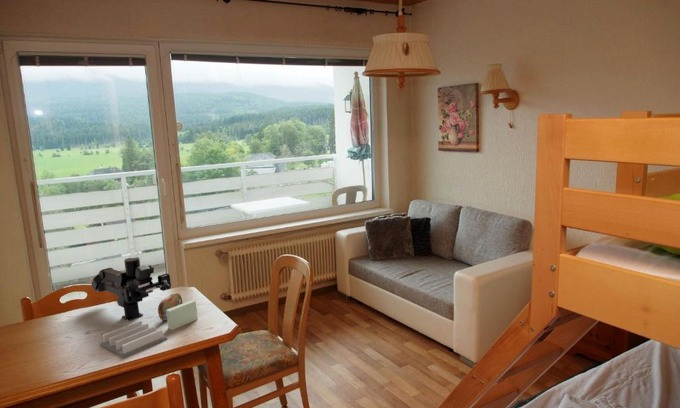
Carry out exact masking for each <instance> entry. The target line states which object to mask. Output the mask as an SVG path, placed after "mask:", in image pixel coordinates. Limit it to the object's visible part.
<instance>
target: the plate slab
mask: <svg viewBox="0 0 680 408" xmlns="http://www.w3.org/2000/svg"><path fill="white" fill-rule="evenodd" d="M166 315H167V320H166V321H167V328H168V329H169V330H171V331H174V330H176V329H178V328H180V327H181V328H182V327H183V326H186V325H188V324H189V323H192V322H194V321H197V320H199V319H198V310H197V302H196V300H192V299H191V300H189V301H186V302H182V304H180V305H178V306H175V307H173V308H170V309H167V310H166Z"/></svg>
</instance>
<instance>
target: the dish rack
mask: <svg viewBox="0 0 680 408" xmlns="http://www.w3.org/2000/svg"><path fill="white" fill-rule="evenodd" d="M167 340H168V337H167V336H166V335H164V333H163V329H161V328H160V329H157V330H156V326H155V325H152V326H151V327H149V323H147V322H146V323H144V324H143V321H142V320H137V321H135V322H132V323H130V324H126V325H125V326H121V327H119V328H116V329H115V330H112V331H109V332H106V333H104V334H102V341H100V342H99V345H100V347H102V348H104V349H106V350H108V351H110V352H112V353H113V354H115V355H116V356H118V357H120V358H122V359H126V358H128V357H130V356H133V355H134V354H137V353H138V352H141V351H144V350H145V349H148V348H150V347H153V346H155V345H158V344H159V343H162V342H163V341H167Z"/></svg>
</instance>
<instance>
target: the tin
mask: <svg viewBox="0 0 680 408" xmlns="http://www.w3.org/2000/svg"><path fill="white" fill-rule="evenodd" d="M180 304H183V298H182V296H181V295H180V293H171V294H170V295H168V296H167V297H166V298H164V299H162V300H161V301H160V302H159V304H158V308H157V312H158V317H159V319H160V320H162V321H167V315H166V310H167V309H170V308H173V307H175V306H178V305H180Z"/></svg>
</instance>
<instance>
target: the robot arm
mask: <svg viewBox="0 0 680 408" xmlns="http://www.w3.org/2000/svg"><path fill="white" fill-rule="evenodd" d="M124 267H125V268H124V270H125V271H124V272H123V271H119V270H116V269H114V268H113V267H107V268H103V269H101V270H99V272H98V274H96V275H95V276H94V277H93V279H92V281H91V288H92V290H93V291H95V292H97V293H102V292H108V293H111V294H113V295H116V296H118V298H117V301H116V302H117V306H119V307H121V308H123V311H124V315H122V316H121V318H122V319H124V320H126V321H132V320H134V319H137V318H140V317H142V316H144V314H143V313H141V312H140V310H139V309H140V308H139V302H143V299H145V298H147V297H150V296H149V294H150V293H153V292H154V290H158V289H159V290H160V291H162V292H164V291H167V290H170V289H171V288H172V283H171V275H170V274H169V273H167V272H166V273H162V274H159V275H158V276H157V282H153V276H152V274H154V272H155V268H154V266H153V265H152V264H143V265H141V261H140V257H138V256H137V257H128V258H125V259H124Z"/></svg>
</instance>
